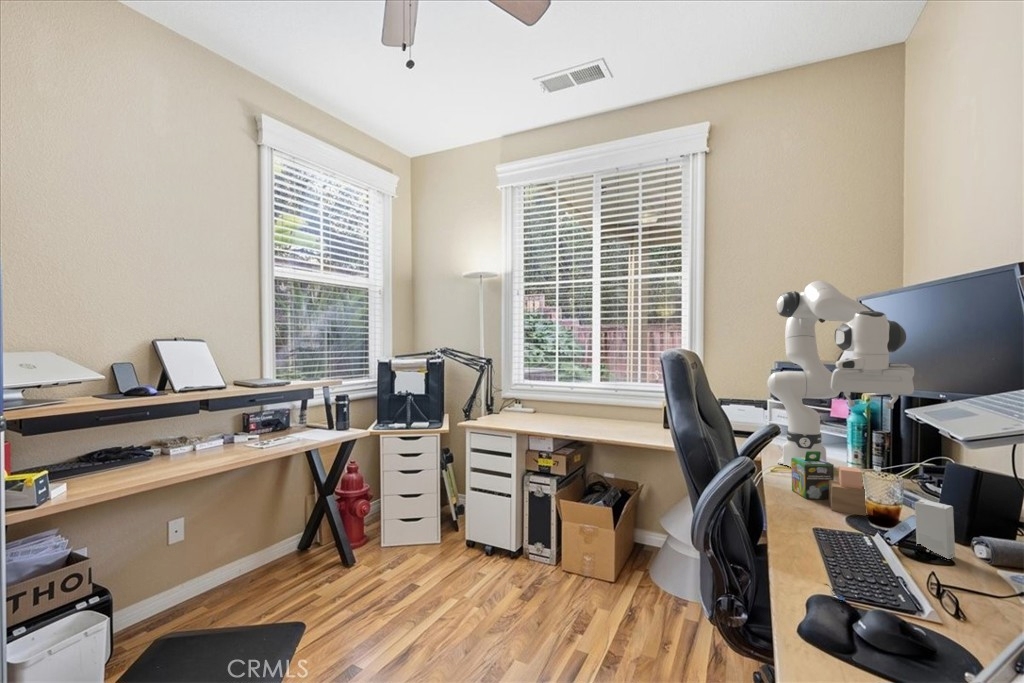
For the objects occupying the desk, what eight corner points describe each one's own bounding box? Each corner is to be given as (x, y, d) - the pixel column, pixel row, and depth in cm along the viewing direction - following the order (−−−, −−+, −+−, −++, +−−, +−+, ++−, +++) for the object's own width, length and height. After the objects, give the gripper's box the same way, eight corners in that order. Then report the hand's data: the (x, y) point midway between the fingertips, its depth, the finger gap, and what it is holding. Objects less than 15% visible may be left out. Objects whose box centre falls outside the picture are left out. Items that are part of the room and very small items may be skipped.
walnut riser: (828, 502, 143) (828, 479, 143) (868, 508, 138) (868, 484, 138) (831, 510, 136) (831, 486, 136) (873, 516, 131) (873, 491, 131)
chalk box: (818, 490, 154) (818, 447, 154) (835, 500, 145) (835, 454, 145) (790, 490, 155) (790, 447, 155) (805, 499, 146) (804, 453, 146)
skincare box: (955, 557, 106) (955, 505, 107) (948, 561, 104) (947, 509, 104) (922, 546, 112) (922, 498, 112) (914, 551, 110) (914, 501, 110)
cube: (838, 482, 141) (838, 466, 141) (858, 484, 138) (858, 468, 138) (841, 486, 136) (841, 469, 136) (861, 489, 134) (861, 472, 134)
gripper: (911, 363, 138) (911, 408, 138) (830, 361, 148) (829, 403, 148) (917, 364, 132) (916, 411, 133) (832, 363, 143) (832, 406, 143)
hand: (870, 407), depth 140 cm, fingers open, 8 cm apart
